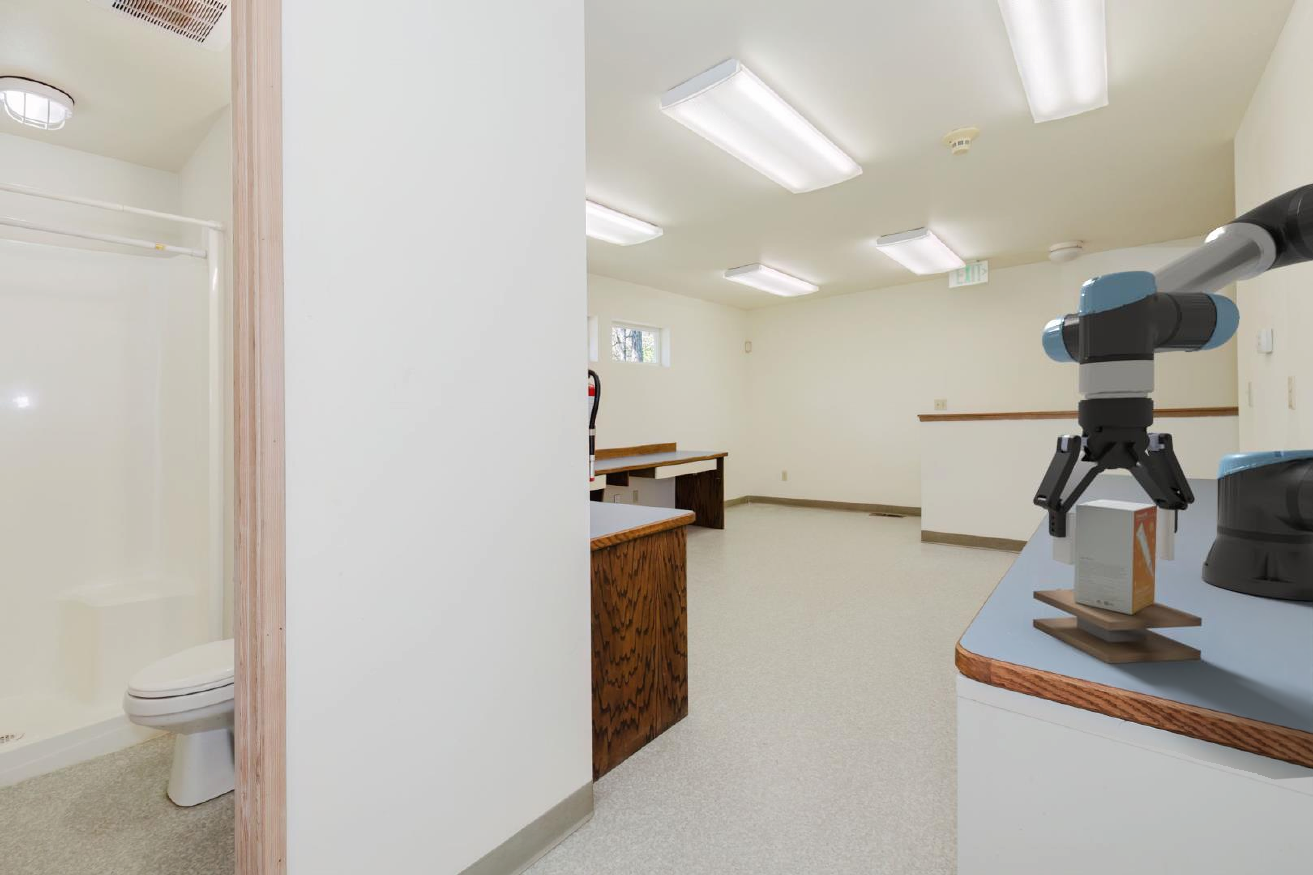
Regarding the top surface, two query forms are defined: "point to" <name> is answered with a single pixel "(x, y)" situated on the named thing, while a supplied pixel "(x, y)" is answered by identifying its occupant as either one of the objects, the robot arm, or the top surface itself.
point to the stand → (1117, 630)
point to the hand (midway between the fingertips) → (1112, 560)
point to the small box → (1115, 555)
